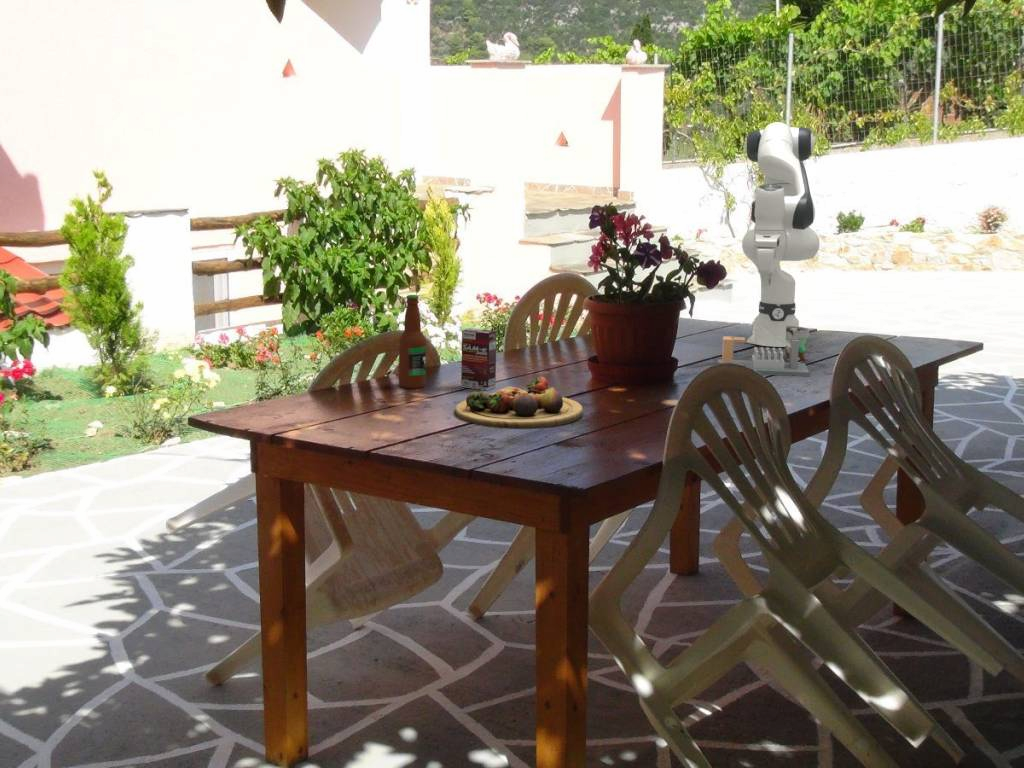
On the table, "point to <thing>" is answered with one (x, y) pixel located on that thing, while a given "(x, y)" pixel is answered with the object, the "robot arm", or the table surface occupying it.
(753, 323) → the light grey flat bar
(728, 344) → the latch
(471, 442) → the table surface
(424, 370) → the bottle
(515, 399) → the wooden plate with food
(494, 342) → the supplement box
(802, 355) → the food container
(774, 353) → the heat sink
